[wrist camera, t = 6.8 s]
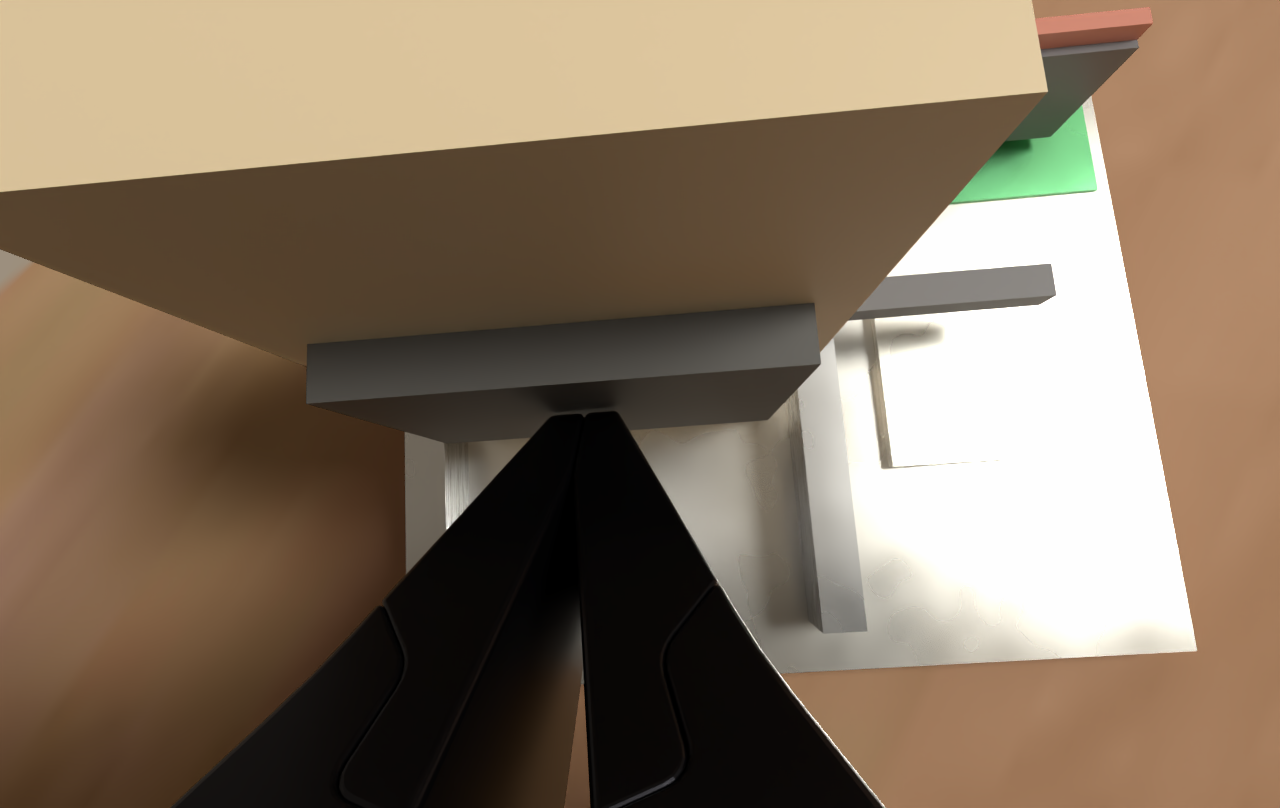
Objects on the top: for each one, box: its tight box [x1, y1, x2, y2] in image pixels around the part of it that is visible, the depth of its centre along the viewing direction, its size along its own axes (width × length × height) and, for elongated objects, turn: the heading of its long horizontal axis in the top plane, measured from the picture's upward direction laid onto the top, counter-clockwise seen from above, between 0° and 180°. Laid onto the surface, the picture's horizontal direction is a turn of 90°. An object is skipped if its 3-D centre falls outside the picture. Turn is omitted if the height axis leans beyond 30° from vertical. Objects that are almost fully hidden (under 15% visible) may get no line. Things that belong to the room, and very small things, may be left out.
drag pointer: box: [1005, 7, 1153, 141], centre depth 13 cm, size 1×3×3 cm, turn 94°
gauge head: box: [0, 0, 1057, 444], centre depth 9 cm, size 4×11×11 cm, turn 94°
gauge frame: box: [405, 96, 1197, 684], centre depth 14 cm, size 13×16×2 cm
